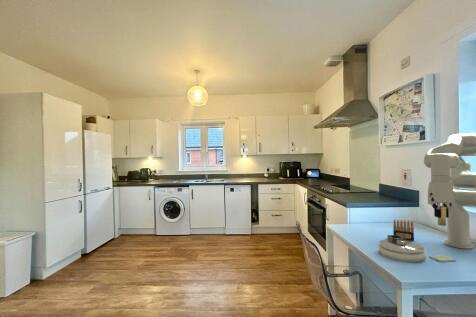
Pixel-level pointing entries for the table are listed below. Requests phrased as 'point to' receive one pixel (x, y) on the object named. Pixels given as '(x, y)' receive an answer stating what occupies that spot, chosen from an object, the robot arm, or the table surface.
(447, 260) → the mat
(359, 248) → the table surface
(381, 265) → the table surface
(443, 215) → the brass rounded cylinder
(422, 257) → the chuck housing
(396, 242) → the grey round shallow disc
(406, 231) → the ammunition clip
